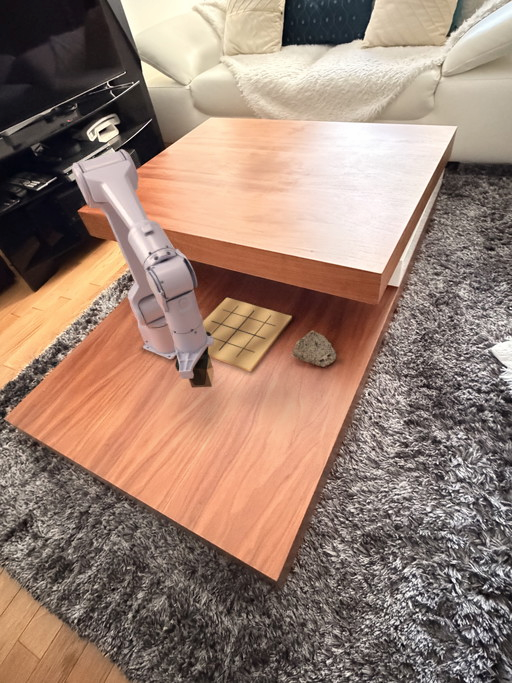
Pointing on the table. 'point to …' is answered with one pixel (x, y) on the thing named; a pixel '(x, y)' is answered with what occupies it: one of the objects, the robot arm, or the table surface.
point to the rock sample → (314, 349)
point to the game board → (243, 332)
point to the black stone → (206, 373)
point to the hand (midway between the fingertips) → (201, 374)
